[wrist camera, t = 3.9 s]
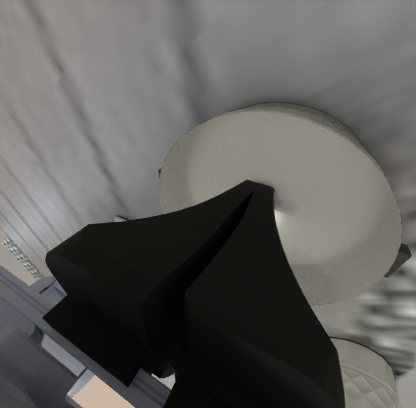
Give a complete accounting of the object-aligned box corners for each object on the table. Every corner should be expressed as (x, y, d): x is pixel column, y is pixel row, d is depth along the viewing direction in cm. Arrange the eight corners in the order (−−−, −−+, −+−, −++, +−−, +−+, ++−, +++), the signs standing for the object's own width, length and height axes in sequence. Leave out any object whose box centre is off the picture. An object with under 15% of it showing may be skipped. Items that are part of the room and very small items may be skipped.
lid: (322, 318, 15) (320, 349, 14) (171, 247, 19) (157, 264, 18) (497, 147, 7) (547, 178, 5) (159, 86, 11) (129, 92, 9)
